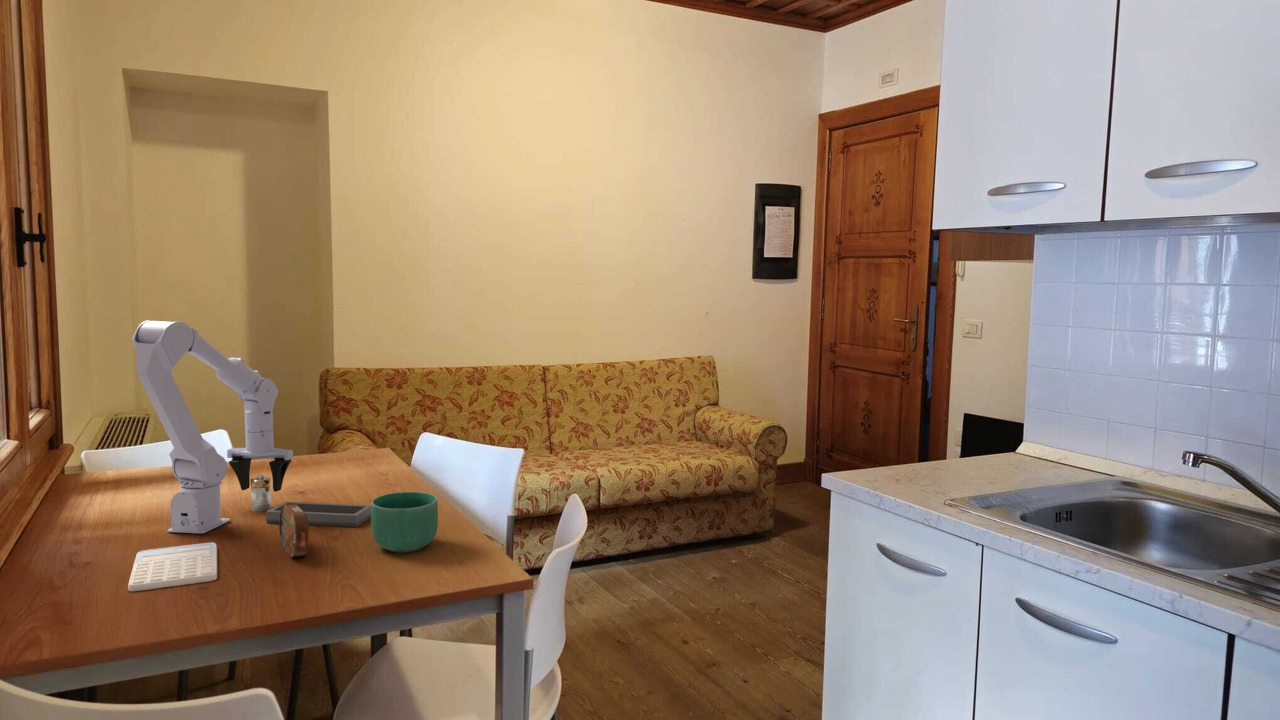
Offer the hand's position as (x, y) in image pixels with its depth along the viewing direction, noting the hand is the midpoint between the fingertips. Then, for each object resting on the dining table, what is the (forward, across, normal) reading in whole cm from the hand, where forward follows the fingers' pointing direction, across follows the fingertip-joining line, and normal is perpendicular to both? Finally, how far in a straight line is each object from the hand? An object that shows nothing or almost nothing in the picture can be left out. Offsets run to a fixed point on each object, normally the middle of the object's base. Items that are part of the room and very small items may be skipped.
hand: (261, 489), depth 187 cm
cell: (+4, 0, 0) cm, 4 cm away
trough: (+4, -17, +6) cm, 19 cm away
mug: (+5, -41, +19) cm, 45 cm away
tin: (+5, -22, +26) cm, 34 cm away
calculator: (+5, -6, +38) cm, 39 cm away
